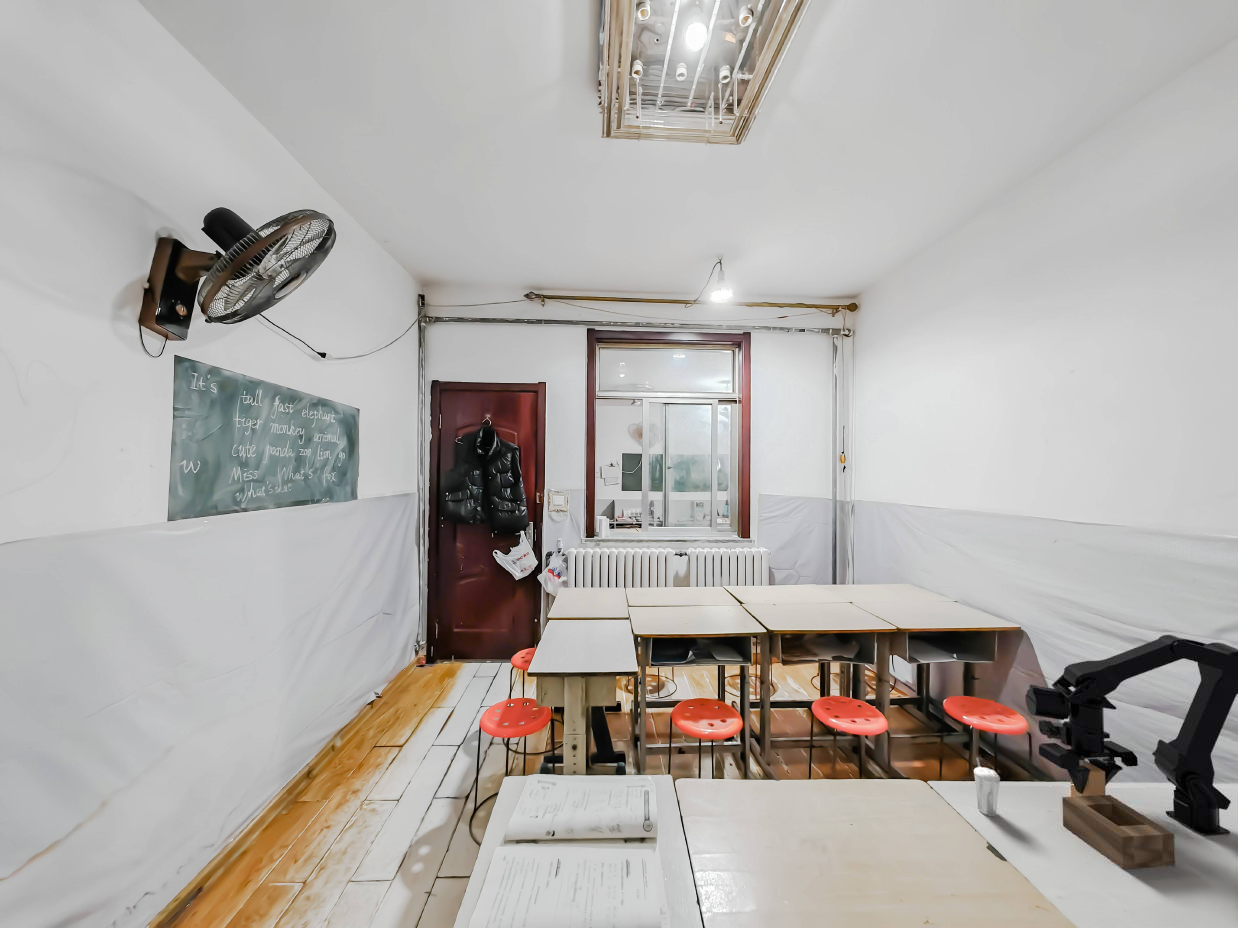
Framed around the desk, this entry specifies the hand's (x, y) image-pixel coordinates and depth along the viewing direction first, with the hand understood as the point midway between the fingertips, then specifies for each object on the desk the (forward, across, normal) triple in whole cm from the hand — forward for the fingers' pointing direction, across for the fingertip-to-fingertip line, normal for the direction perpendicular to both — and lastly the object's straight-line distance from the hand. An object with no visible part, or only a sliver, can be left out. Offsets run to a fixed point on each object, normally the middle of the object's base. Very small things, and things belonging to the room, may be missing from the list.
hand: (1088, 791), depth 106 cm
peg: (+2, 0, 0) cm, 2 cm away
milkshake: (+2, +26, +1) cm, 26 cm away
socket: (+2, +8, +12) cm, 15 cm away
